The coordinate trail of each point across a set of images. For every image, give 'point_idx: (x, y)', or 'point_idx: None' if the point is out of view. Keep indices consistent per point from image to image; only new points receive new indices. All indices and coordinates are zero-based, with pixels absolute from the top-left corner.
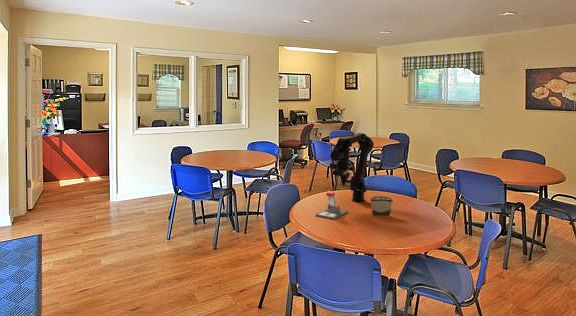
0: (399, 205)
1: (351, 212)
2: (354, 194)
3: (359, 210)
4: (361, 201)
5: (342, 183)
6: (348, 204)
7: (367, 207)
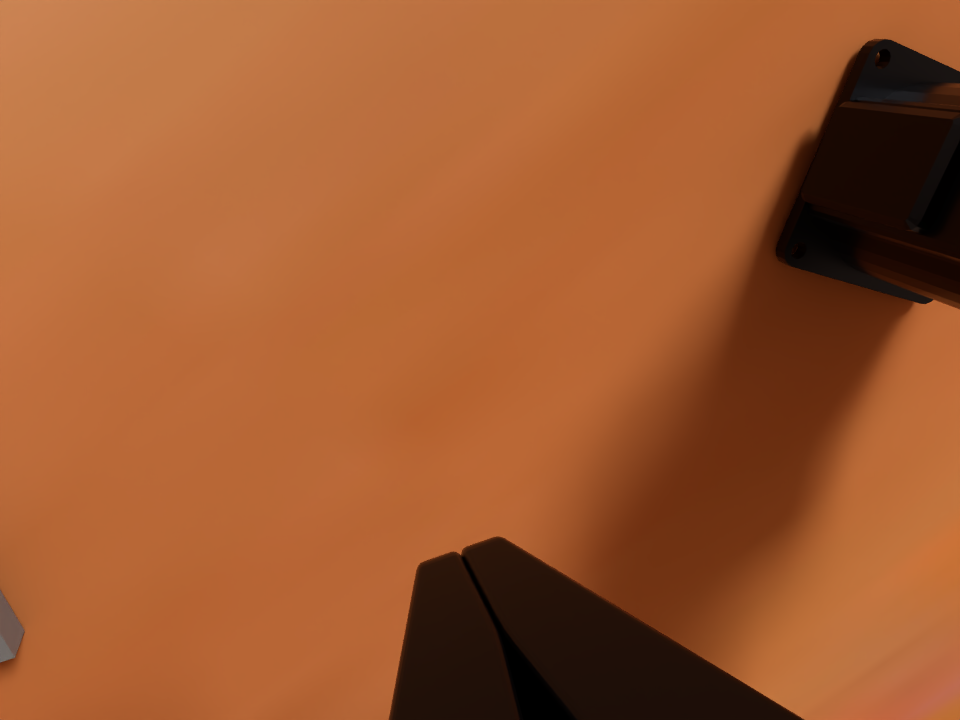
0: (914, 706)
1: (104, 648)
2: (916, 198)
3: (337, 628)
4: (847, 281)
5: (412, 641)
6: (539, 223)
7: (589, 572)
